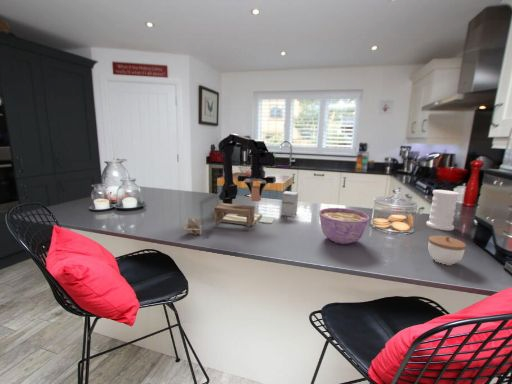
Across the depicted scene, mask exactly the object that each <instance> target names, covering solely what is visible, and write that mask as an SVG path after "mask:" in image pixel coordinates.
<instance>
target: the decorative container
mask: <svg viewBox="0 0 512 384" xmlns="http://www.w3.org/2000/svg"><path fill="white" fill-rule="evenodd" d="M432 194H433V196H432V198H431V199H432V203H431V205H430V206H431V208H430V210H429V212H430V214H429V216H428V218H429V220H427V221H426V226H428V227H429V228H432V229H435V230H441V231H453V230H454V229H455V226H454V225H453V222H454V221H455V220H454V217H455V215H456V213H455V211H456V208H457V203H458V197H460V192H457V191H453V190H448V189H445V190H444V189H432Z"/></svg>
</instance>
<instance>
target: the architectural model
mask: <svg viewBox="0 0 512 384" xmlns="http://www.w3.org/2000/svg"><path fill="white" fill-rule="evenodd" d="M187 218H188V219H187V220H188V221H187V225H185V226H184V227H183V228H182V230H188V234H194V235H195V236H197V235H199V236H201V235H202V221H201V220H202V219H201V218H198V217H187Z"/></svg>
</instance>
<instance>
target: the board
mask: <svg viewBox="0 0 512 384" xmlns="http://www.w3.org/2000/svg"><path fill="white" fill-rule="evenodd" d="M262 215H263V214H262V213H255V212H254V222H253V223H252V224H251V225H250V226H255V224H256V223H257V222H259V221H260V220H261V218H262V217H263V216H262ZM220 222H222V223H229V224H238V225H246V222H247V215H240V214H231V213H226V214H225V215H224V218H222V219H221V220H220Z"/></svg>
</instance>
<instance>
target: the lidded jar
mask: <svg viewBox="0 0 512 384" xmlns="http://www.w3.org/2000/svg"><path fill="white" fill-rule="evenodd" d="M427 247H428V248H427V249H428V253H429V255H430V257H431V258H432V260H433V259H434V260H435V262H436V263H438V262H439V263H438V264H440V263H442V264H441V265H444V264H446V266H453V265H454V264H457V263H458V262H460V261H461V259H462V258H463V257H464V254H465V250H466V248H467V245H466V243H465V242H463V241H461V240H459V239H456V238H453V237H450V236H447V235H446V236H444V235H430V236H429V237H428V246H427ZM434 260H433V261H434ZM452 264H453V265H452Z"/></svg>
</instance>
